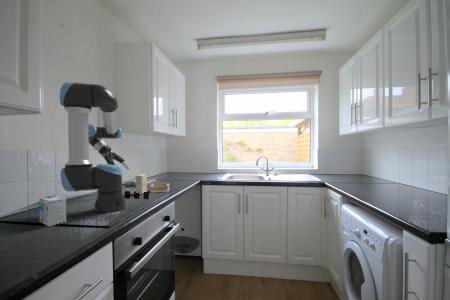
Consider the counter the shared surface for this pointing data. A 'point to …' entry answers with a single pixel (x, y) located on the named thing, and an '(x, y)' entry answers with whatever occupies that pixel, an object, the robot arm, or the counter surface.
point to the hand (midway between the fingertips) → (125, 170)
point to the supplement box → (141, 183)
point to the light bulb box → (52, 210)
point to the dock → (159, 187)
